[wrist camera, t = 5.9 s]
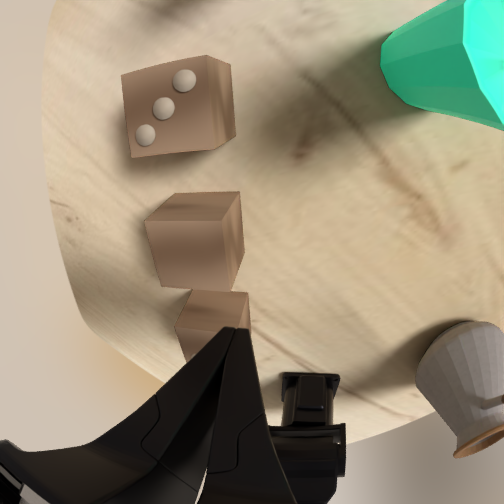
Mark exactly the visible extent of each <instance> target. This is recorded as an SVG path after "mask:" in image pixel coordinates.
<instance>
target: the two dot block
mask: <svg viewBox="0 0 504 504" xmlns="http://www.w3.org/2000/svg"><path fill="white" fill-rule="evenodd" d="M224 326H229V327H236V328H238V327H240V328H248V329H249V330H250V334H251V323H250V310H249V297H248V293H247V292H233V291H231V292H221V291H208V290H196V289H193V291H192V293H191V294H190V296H189V298H188V300H187V302H186V304H185V306H184V308H183V310H182V312H181V314H180V316H179V318H178V320H177V322H176V324H175V326H174V328H175V331H176V334H177V337H178V340H179V343H180V346H181V348H182V351H183V354H184V357H185V360H186V362H188V361H189V360H190V359H191V358H192V357H193V356H194V355H195V354H196V353H197V352H199V351H200V350H201V349H202V348H203V347H204V346H205V345H206V344H207V343H208V342H209V341H210V340H211V339H212V338H213V337H214V336H215V335H216V334H217V333H218V332H219V331H220V330H221V329H222V328H223V327H224Z"/></svg>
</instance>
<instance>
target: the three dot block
mask: <svg viewBox="0 0 504 504" xmlns="http://www.w3.org/2000/svg"><path fill="white" fill-rule="evenodd" d="M121 80H122V91H123V100H124V109H125V117H126V124H127V131H128V138H129V145H130V151H131V157H132V158H136V157H144V156H151V155H159V154H168V153H177V152H188V151H199V150H213V149H216V148H217V147H219V146H220V145H222V144H224V143H225V142H227V141H228V140H230V139H232V138H233V137H235V136H236V131H235V118H234V105H233V91H232V78H231V65H230V64H228V63H225V62H223V61H220V60H218V59H215V58H213V57H210V56H207V55H204V56H198V57H192V58H187V59H182V60H177V61H172V62H168V63H164V64H159V65H155V66H151V67H148V68H144V69H140V70H137V71H133V72H130V73H127V74H124V75H121Z"/></svg>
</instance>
